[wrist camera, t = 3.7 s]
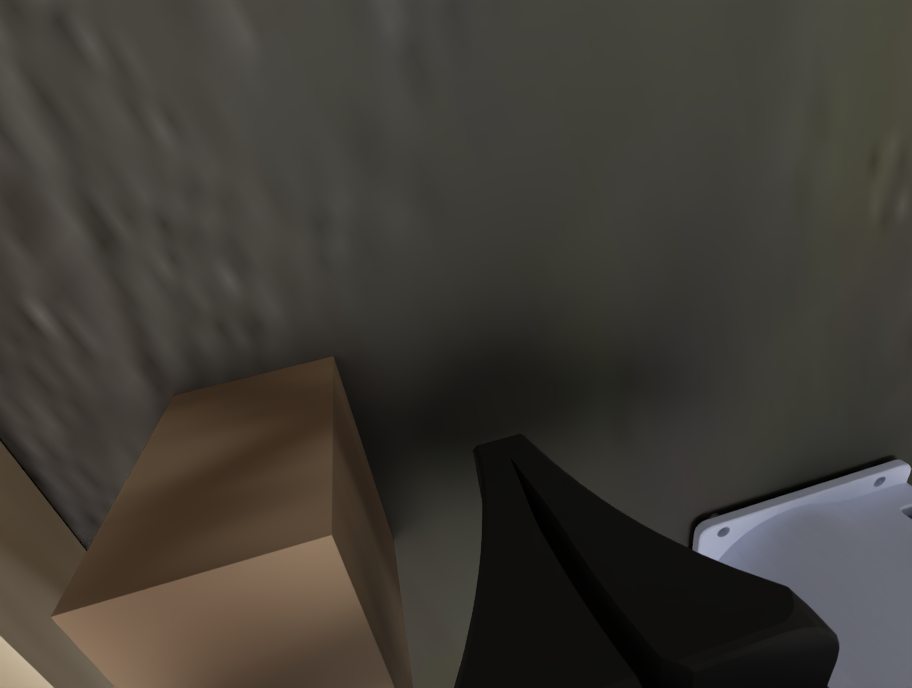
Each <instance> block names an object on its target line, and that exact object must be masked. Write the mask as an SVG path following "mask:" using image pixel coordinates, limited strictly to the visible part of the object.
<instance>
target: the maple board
mask: <svg viewBox="0 0 912 688" xmlns="http://www.w3.org/2000/svg"><path fill="white" fill-rule="evenodd" d="M86 552H87V551H86V550H85V549H84V547H83V546H82V545H81V544H80V542H79V541H78V540H77V538H76V537H75V536H74V535H73V533H72V532H71V531H70V529H69V528H68V527H67V526H66V524H65V523H64V522H63V521H62V519H61V518H60V517H59V515H58V514H57V513H56V512H55V510H54V509H53V508H52V506H51V505H50V504H49V503H48V501H47V500H46V499H45V497H44V496H43V495H42V494H41V492H40V491H39V490H38V488H37V487H36V486H35V485H34V483H33V482H32V481H31V479H30V478H29V477H28V476H27V474H26V473H25V472H24V471H23V469H22V468H21V467H20V465H19V464H18V463H17V462H16V460H15V459H14V458H13V456H12V455H11V454H10V453H9V451H8V450H7V449H6V447H5V446H4V445H3V444H2V442H1V441H0V688H115V686H114V685H113V684H112V683H111V682H110V681H109V680H108V679H107V678H106V677H105V676H104V675H103V673H102V672H101V671H100V670H99V669H98V668H97V667H96V666H95V665H94V664H93V663H92V662H91V660H90V659H89V658H88V657H87V656H86V655H85V654H84V653H83V652H82V651H81V650H80V649H79V647H78V646H77V645H76V644H75V643H74V642H73V641H72V640H71V639H70V638H69V637H68V636H67V634H66V633H65V632H64V631H63V630H62V629H61V628H60V627H59V626H58V625H57V624H56V623H55V621H54V620H53V619H52V618H51V615H52V613H53V611H54V609H55V608H56V606H57V604H58V602H59V600H60V599H61V597H62V595H63V593H64V592H65V590H66V588H67V586H68V584H69V583H70V581H71V579H72V577H73V575H74V574H75V572H76V570H77V568H78V566H79V565H80V563H81V561H82V559H83V557H84V556H85V554H86Z"/></svg>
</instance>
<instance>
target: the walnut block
mask: <svg viewBox="0 0 912 688" xmlns="http://www.w3.org/2000/svg"><path fill="white" fill-rule="evenodd" d="M51 618H52V619H53V620H54V621H55V623H56V624H57V625H58V626H59V627H60V628H61V629H62V630H63V631H64V632H65V633H66V634H67V636H68V637H69V638H70V639H71V640H72V641H73V642H74V643H75V644H76V645H77V646H78V647H79V649H80V650H81V651H82V652H83V653H84V654H85V655H86V656H87V657H88V658H89V659H90V660H91V662H92V663H93V664H94V665H95V666H96V667H97V668H98V669H99V670H100V671H101V672H102V673H103V675H104V676H105V677H106V678H107V679H108V680H109V681H110V682H111V683H112V684H113V685H114V686H115V688H413V685H412V677H411V670H410V662H409V654H408V647H407V639H406V632H405V624H404V617H403V609H402V602H401V594H400V586H399V579H398V571H397V564H396V556H395V549H394V541H393V537H392V534H391V531H390V528H389V525H388V522H387V518H386V515H385V512H384V509H383V506H382V503H381V500H380V497H379V494H378V491H377V488H376V485H375V482H374V479H373V476H372V473H371V469H370V466H369V463H368V460H367V457H366V454H365V451H364V448H363V445H362V442H361V439H360V436H359V433H358V430H357V427H356V424H355V420H354V417H353V414H352V411H351V408H350V405H349V402H348V399H347V396H346V393H345V390H344V387H343V384H342V381H341V378H340V375H339V371H338V368H337V365H336V362H335V359H334V356H331V357H327V358H323V359H319V360H315V361H311V362H307V363H302V364H298V365H294V366H290V367H286V368H282V369H278V370H274V371H270V372H266V373H262V374H258V375H254V376H250V377H246V378H242V379H238V380H234V381H230V382H226V383H222V384H218V385H214V386H210V387H206V388H201V389H197V390H193V391H189V392H185V393H181V394H177V395H174V396H173V397H172V399H171V401H170V403H169V405H168V406H167V408H166V410H165V412H164V414H163V415H162V417H161V419H160V421H159V423H158V424H157V426H156V428H155V430H154V432H153V433H152V435H151V437H150V439H149V441H148V442H147V444H146V446H145V448H144V449H143V451H142V453H141V455H140V457H139V458H138V460H137V462H136V464H135V466H134V467H133V469H132V471H131V473H130V475H129V476H128V478H127V480H126V482H125V484H124V485H123V487H122V489H121V491H120V493H119V494H118V496H117V498H116V500H115V502H114V503H113V505H112V507H111V509H110V511H109V512H108V514H107V516H106V518H105V520H104V521H103V523H102V525H101V527H100V529H99V530H98V532H97V534H96V536H95V538H94V539H93V541H92V543H91V545H90V547H89V548H88V550H87V552H86V554H85V556H84V557H83V559H82V561H81V563H80V565H79V566H78V568H77V570H76V572H75V574H74V575H73V577H72V579H71V581H70V583H69V584H68V586H67V588H66V590H65V592H64V593H63V595H62V597H61V599H60V600H59V602H58V604H57V606H56V608H55V609H54V611H53V613H52V615H51Z"/></svg>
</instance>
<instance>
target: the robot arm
mask: <svg viewBox="0 0 912 688" xmlns="http://www.w3.org/2000/svg"><path fill="white" fill-rule="evenodd" d="M473 453H474V459H475V464H476V470H477V475H478V481H479V486H480V492H481V497H482V542H481V555H480V565H479V574H478V581H477V588H476V595H475V601H474V607H473V612H472V617H471V622H470V626H469V631H468V636H467V640H466V645H465V649H464V653H463V657H462V661H461V665H460V668H459V672H458V675H457V679H456V683H455V686H454V688H912V486H911V485H910V484H908V483H907V480H908V477H909V474H910V471H911V467H910V465H908V464H907V463H905V462H904V461H902V460H893V461H890V462H887V463H884V464H880V465H877V466H874V467H871V468H868V469H865V470H862V471H858V472H855V473H852V474H849V475H846V476H843V477H840V478H836V479H833V480H830V481H827V482H824V483H821V484H817V485H814V486H811V487H808V488H805V489H802V490H799V491H795V492H792V493H789V494H786V495H783V496H780V497H777V498H773V499H770V500H767V501H764V502H761V503H758V504H755V505H751V506H748V507H745V508H742V509H739V510H736V511H733V512H729V513H726V514H723V515H720V516H717V517H714V518H711V519H707V520H705V521H703V522H701V523H700V524H698V526H697V527H696V528H695V531H694V539H693V549H689V548H687V547H685V546H683V545H681V544H679V543H677V542H675V541H673V540H671V539H669V538H667V537H665V536H662V535H661V534H659V533H657V532H655V531H653V530H651V529H650V528H648V527H646V526H644V525H642V524H641V523H639V522H637V521H636V520H634V519H632V518H630V517H629V516H627V515H625V514H624V513H622V512H621V511H619V510H617V509H616V508H614V507H613V506H611V505H610V504H608V503H607V502H605V501H604V500H602V499H601V498H600V497H598V496H597V495H595V494H594V493H592V492H591V491H590V490H588V489H587V488H586V487H584V486H583V485H581V484H580V483H579V482H578V481H576V480H575V479H574V478H572V477H571V476H570V475H569V474H567V473H566V472H565V471H564V470H562V469H561V468H560V467H559V466H557V465H556V464H555V463H554V462H553V461H552V460H550V459H549V458H548V457H547V456H546V455H545V454H543V453H542V452H541V451H540V450H539V449H538V448H537V447H536V446H535V445H534V444H533V443H531V442H530V441H529V440H528V439H527V438H526V437H525V436H524V435H522V434H518V435H514V436H511V437H507V438H504V439H500V440H496V441H493V442H489V443H486V444H482V445H478V446H476V447H475V449H474V450H473Z"/></svg>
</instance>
